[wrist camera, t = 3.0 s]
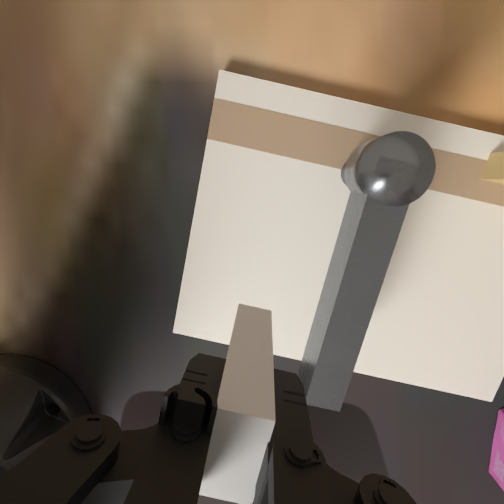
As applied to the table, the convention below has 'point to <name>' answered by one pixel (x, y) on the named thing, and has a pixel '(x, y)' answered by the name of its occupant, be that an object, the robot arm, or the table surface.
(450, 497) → the table surface
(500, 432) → the gum box
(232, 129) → the door board
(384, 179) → the latch bar
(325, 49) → the table surface
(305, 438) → the robot arm
